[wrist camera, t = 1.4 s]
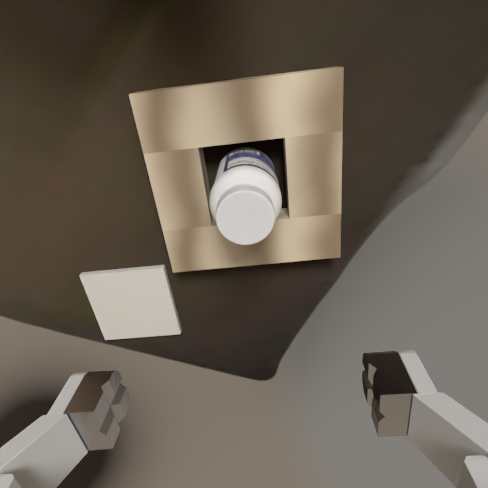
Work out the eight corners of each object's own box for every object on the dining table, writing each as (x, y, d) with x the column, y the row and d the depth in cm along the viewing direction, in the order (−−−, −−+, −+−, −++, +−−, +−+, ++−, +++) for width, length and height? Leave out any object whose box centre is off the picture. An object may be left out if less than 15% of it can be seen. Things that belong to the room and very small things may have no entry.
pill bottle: (248, 214, 33) (248, 268, 25) (204, 178, 32) (187, 223, 23) (288, 173, 31) (302, 215, 23) (243, 132, 30) (240, 162, 21)
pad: (107, 336, 41) (105, 340, 40) (81, 272, 37) (79, 275, 36) (181, 330, 40) (180, 334, 40) (164, 264, 36) (163, 267, 36)
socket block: (177, 259, 36) (173, 272, 34) (138, 91, 28) (128, 94, 26) (334, 244, 35) (340, 257, 32) (335, 66, 27) (343, 67, 25)
